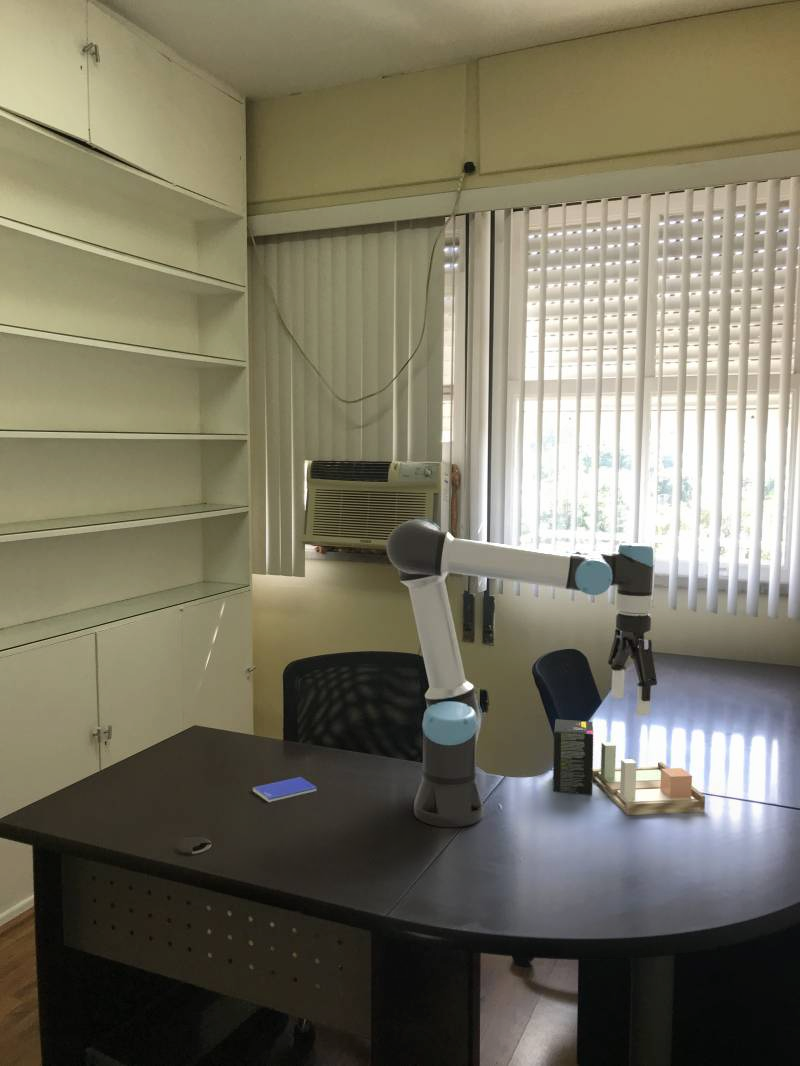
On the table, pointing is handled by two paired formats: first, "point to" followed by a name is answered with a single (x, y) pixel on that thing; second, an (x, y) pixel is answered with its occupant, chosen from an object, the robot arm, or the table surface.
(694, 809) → the lane board
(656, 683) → the robot arm
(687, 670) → the table surface
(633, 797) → the strip cream
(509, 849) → the table surface
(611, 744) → the pale green l-shaped bracket
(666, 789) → the cube
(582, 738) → the tampon box
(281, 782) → the hard drive
